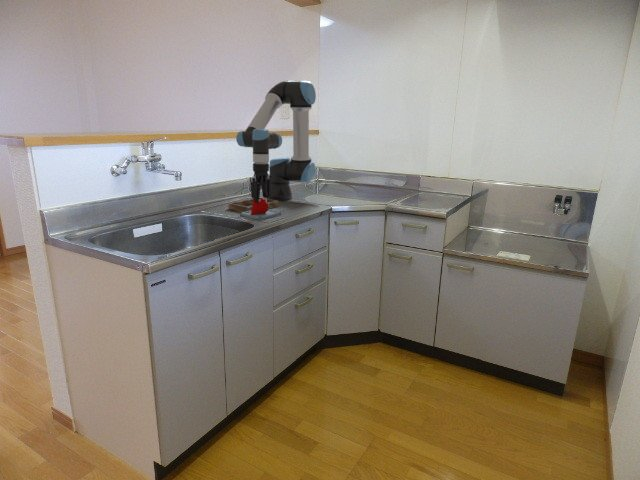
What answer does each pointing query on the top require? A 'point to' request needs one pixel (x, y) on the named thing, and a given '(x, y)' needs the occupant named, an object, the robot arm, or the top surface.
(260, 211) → the gemstone
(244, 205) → the frame
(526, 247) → the top surface
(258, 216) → the tray
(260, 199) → the robot arm
